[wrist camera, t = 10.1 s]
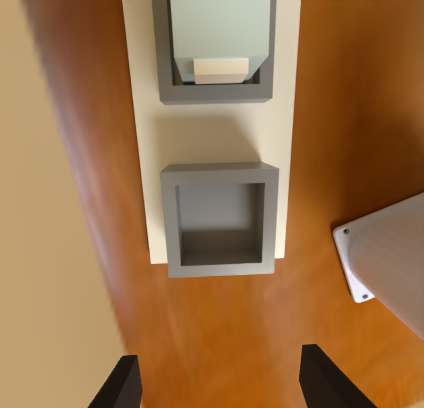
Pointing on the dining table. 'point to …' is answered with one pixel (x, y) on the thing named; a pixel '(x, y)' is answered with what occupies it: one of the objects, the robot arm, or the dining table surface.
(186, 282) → the dining table surface
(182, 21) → the plug
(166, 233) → the board with square sockets
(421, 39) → the dining table surface
